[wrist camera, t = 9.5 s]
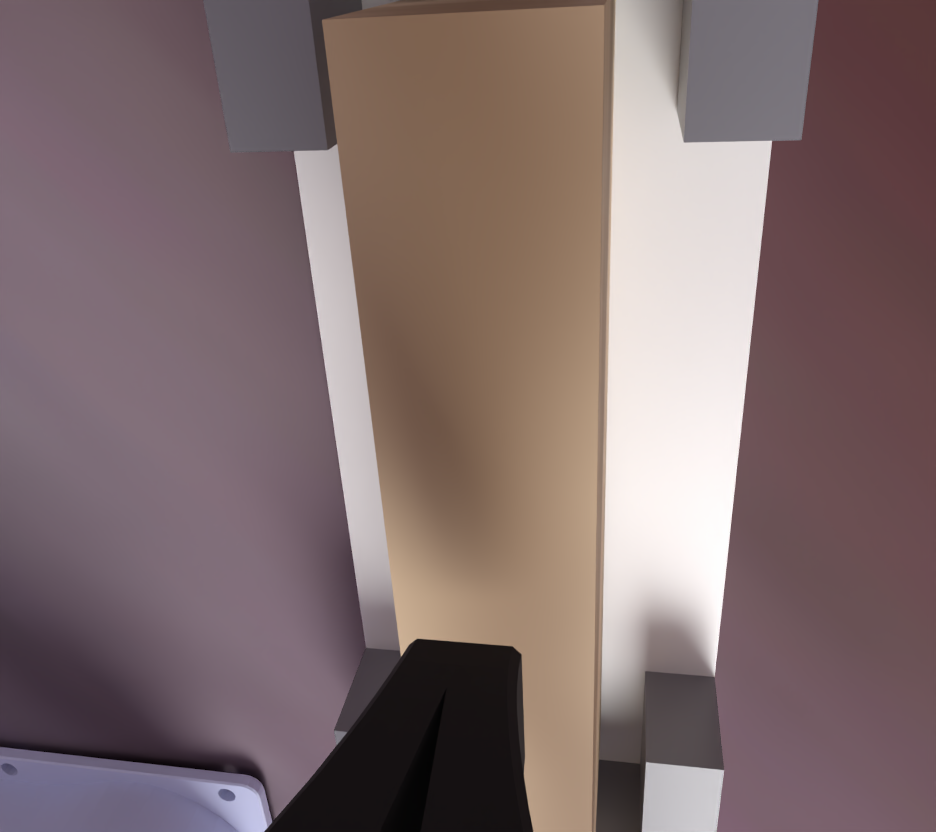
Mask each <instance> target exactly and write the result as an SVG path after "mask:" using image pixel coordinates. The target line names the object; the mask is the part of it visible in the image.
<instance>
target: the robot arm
mask: <svg viewBox="0 0 936 832" xmlns="http://www.w3.org/2000/svg"><path fill="white" fill-rule="evenodd" d="M524 764H525V738H524V709H523V679H522V654H521V653H520V652H518V651H517V650H516V649H515V648H514V647H513V646H503V645H491V644H478V643H466V642H454V641H441V640H429V639H416V640H415V641H413V642H412V643H411V644H409V646H408V647H407V649H406V650H405V652H404V653H403V655H402V656H401V658H400V659H399V661H398V663H397V664H396V665H395V667H394V668H393V670H392V671H391V673H390V674H389V676H388V677H387V679H386V680H385V682H384V683H383V684H382V686H381V687H380V689H379V690H378V691H377V693H376V694H375V696H374V697H373V698H372V700H371V701H370V703H369V704H368V705H367V707H366V708H365V709H364V711H363V712H362V713H361V715H360V716H359V718H358V719H357V720H356V722H355V723H354V724H353V726H352V727H351V728H350V729H349V731H348V732H347V733H346V734H345V736H344V737H343V738H342V739H341V741H340V742H339V743H338V745H337V746H336V747H335V748H334V750H333V751H332V752H331V753H330V755H329V756H328V757H327V759H326V760H325V761H324V762H323V764H322V765H321V766H320V767H319V769H318V770H317V771H316V772H315V774H314V775H313V776H312V777H311V778H310V780H309V781H308V782H307V783H306V784H305V785H304V787H303V788H302V789H301V790H300V791H299V792H298V793H297V795H296V796H295V797H294V798H293V799H292V800H291V801H290V803H289V804H288V805H287V806H286V807H285V808H284V809H283V811H282V812H281V813H280V814H279V815H278V816H277V817H276V819H275V820H274V821H273V822H272V819H271V815H270V811H269V806H268V802H267V798H266V794H265V790H264V787H263V785H262V783H261V782H260V781H259V780H258V779H256V778H254V777H252V776H249V775H244V774H236V773H227V772H218V771H209V770H200V769H191V768H183V767H174V766H165V765H156V764H147V763H138V762H129V761H121V760H112V759H103V758H94V757H85V756H76V755H68V754H59V753H50V752H41V751H32V750H23V749H14V748H6V747H0V832H533V827H532V822H531V816H530V811H529V806H528V799H527V793H526V786H525V780H524Z"/></svg>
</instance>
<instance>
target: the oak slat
mask: <svg viewBox="0 0 936 832" xmlns="http://www.w3.org/2000/svg"><path fill="white" fill-rule="evenodd" d="M615 10H616V0H400V1H396V2H392V3H388V4H384V5H380V6H376V7H372V8H368V9H364V10H360V11H355V12H351V13H347V14H343V15H339V16H335V17H331V18H327V19H323V20H322V25H323V33H324V41H325V49H326V57H327V65H328V73H329V81H330V89H331V98H332V106H333V114H334V122H335V130H336V138H337V146H338V154H339V162H340V170H341V178H342V186H343V194H344V202H345V210H346V218H347V226H348V234H349V242H350V251H351V259H352V267H353V275H354V283H355V291H356V299H357V307H358V315H359V323H360V331H361V339H362V347H363V355H364V363H365V371H366V379H367V387H368V395H369V404H370V412H371V420H372V428H373V436H374V444H375V452H376V460H377V468H378V476H379V484H380V492H381V500H382V508H383V516H384V524H385V532H386V540H387V548H388V556H389V565H390V573H391V581H392V589H393V597H394V605H395V613H396V621H397V629H398V637H399V645H400V653H401V656H402V655H403V653H404V652H405V650H406V649H407V647H408V646H409V644H411V643H412V642H413V641H415V640H416V639H429V640H441V641H454V642H466V643H478V644H491V645H503V646H513V647H514V648H515V649H516V650H517V651H518V652H520V653H521V654H522V679H523V709H524V738H525V764H524V780H525V786H526V793H527V799H528V806H529V811H530V816H531V822H532V827H533V832H596V812H597V792H598V772H599V752H600V727H601V679H602V632H603V584H604V536H605V488H606V440H607V393H608V345H609V297H610V249H611V201H612V154H613V106H614V58H615Z"/></svg>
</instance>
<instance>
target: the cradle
mask: <svg viewBox="0 0 936 832" xmlns="http://www.w3.org/2000/svg"><path fill="white" fill-rule="evenodd" d="M396 1H400V0H203V2H204V7H205V13H206V18H207V24H208V30H209V35H210V41H211V46H212V52H213V57H214V63H215V69H216V74H217V80H218V85H219V91H220V97H221V102H222V108H223V113H224V119H225V125H226V130H227V136H228V141H229V147H230V152H272V151H294V156H295V162H296V169H297V176H298V183H299V190H300V197H301V204H302V211H303V218H304V224H305V231H306V238H307V245H308V252H309V259H310V266H311V273H312V279H313V286H314V293H315V300H316V307H317V314H318V321H319V328H320V335H321V341H322V348H323V355H324V362H325V369H326V376H327V383H328V390H329V396H330V403H331V410H332V417H333V424H334V431H335V438H336V445H337V452H338V458H339V465H340V472H341V479H342V486H343V493H344V500H345V507H346V513H347V520H348V527H349V534H350V541H351V548H352V555H353V562H354V569H355V575H356V582H357V589H358V596H359V603H360V610H361V617H362V624H363V630H364V637H365V644H366V649H365V652H364V654H363V657H362V659H361V662H360V665H359V667H358V670H357V672H356V675H355V678H354V680H353V683H352V685H351V688H350V690H349V693H348V696H347V698H346V701H345V703H344V706H343V709H342V711H341V714H340V716H339V719H338V721H337V724H336V727H335V729H334V734H335V739H336V745H338V743H339V742H340V741H341V739H342V738H343V737H344V736H345V734H346V733H347V732H348V731H349V729H350V728H351V727H352V726H353V724H354V723H355V722H356V720H357V719H358V718H359V716H360V715H361V713H362V712H363V711H364V709H365V708H366V707H367V705H368V704H369V703H370V701H371V700H372V698H373V697H374V696H375V694H376V693H377V691H378V690H379V689H380V687H381V686H382V684H383V683H384V682H385V680H386V679H387V677H388V676H389V674H390V673H391V671H392V670H393V668H394V667H395V665H396V664H397V663H398V661H399V659H400V658H401V653H400V645H399V637H398V629H397V621H396V613H395V605H394V597H393V589H392V581H391V573H390V565H389V556H388V548H387V540H386V532H385V524H384V516H383V508H382V500H381V492H380V484H379V476H378V468H377V460H376V452H375V444H374V436H373V428H372V420H371V412H370V404H369V395H368V387H367V379H366V371H365V363H364V355H363V347H362V339H361V331H360V323H359V315H358V307H357V299H356V291H355V283H354V275H353V267H352V259H351V251H350V242H349V234H348V226H347V218H346V210H345V202H344V194H343V186H342V178H341V170H340V162H339V154H338V146H337V138H336V130H335V122H334V114H333V106H332V98H331V89H330V81H329V73H328V65H327V57H326V49H325V41H324V33H323V25H322V20H323V19H327V18H331V17H335V16H339V15H343V14H347V13H351V12H355V11H360V10H364V9H368V8H372V7H376V6H380V5H384V4H388V3H392V2H396ZM817 7H818V0H616V10H615V58H614V106H613V154H612V201H611V249H610V297H609V345H608V393H607V440H606V488H605V536H604V584H603V632H602V679H601V727H600V752H599V772H598V792H597V812H596V832H717V823H718V815H719V807H720V799H721V791H722V783H723V774H724V765H723V755H722V746H721V736H720V726H719V716H718V706H717V697H716V687H715V667H716V658H717V649H718V639H719V630H720V621H721V611H722V602H723V593H724V583H725V574H726V565H727V555H728V546H729V537H730V527H731V518H732V509H733V499H734V490H735V481H736V471H737V462H738V453H739V444H740V434H741V425H742V416H743V406H744V397H745V388H746V378H747V369H748V360H749V350H750V341H751V332H752V322H753V313H754V304H755V294H756V285H757V276H758V266H759V257H760V248H761V238H762V229H763V220H764V210H765V201H766V192H767V182H768V173H769V164H770V154H771V145H772V141H783V140H801V138H802V130H803V122H804V114H805V105H806V97H807V89H808V81H809V73H810V65H811V56H812V48H813V40H814V32H815V24H816V16H817Z"/></svg>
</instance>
